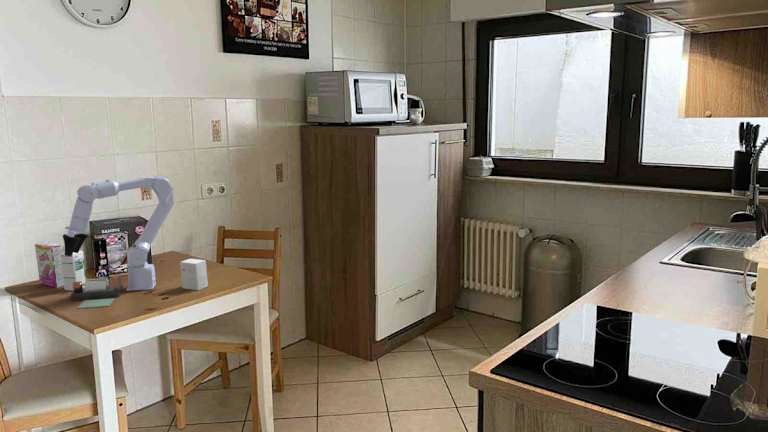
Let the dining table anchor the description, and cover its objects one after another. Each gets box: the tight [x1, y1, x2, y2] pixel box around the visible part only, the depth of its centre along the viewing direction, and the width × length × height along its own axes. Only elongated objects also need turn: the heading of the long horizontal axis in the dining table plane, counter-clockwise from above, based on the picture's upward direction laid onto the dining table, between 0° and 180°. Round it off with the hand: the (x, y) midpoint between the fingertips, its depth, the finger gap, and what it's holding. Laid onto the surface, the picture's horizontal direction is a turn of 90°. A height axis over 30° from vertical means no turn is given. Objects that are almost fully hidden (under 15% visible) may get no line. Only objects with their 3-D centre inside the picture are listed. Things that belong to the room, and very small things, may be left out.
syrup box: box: [60, 249, 88, 292], centre depth 222 cm, size 6×6×14 cm
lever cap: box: [84, 276, 110, 292], centre depth 213 cm, size 7×4×4 cm, turn 101°
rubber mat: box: [76, 297, 115, 310], centre depth 205 cm, size 10×8×1 cm
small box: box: [179, 258, 209, 291], centre depth 221 cm, size 8×6×10 cm
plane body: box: [70, 273, 124, 301], centre depth 213 cm, size 16×7×7 cm, turn 101°
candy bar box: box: [34, 241, 65, 289], centre depth 227 cm, size 11×5×16 cm, turn 61°
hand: (71, 253), depth 210 cm, fingers open, 7 cm apart
